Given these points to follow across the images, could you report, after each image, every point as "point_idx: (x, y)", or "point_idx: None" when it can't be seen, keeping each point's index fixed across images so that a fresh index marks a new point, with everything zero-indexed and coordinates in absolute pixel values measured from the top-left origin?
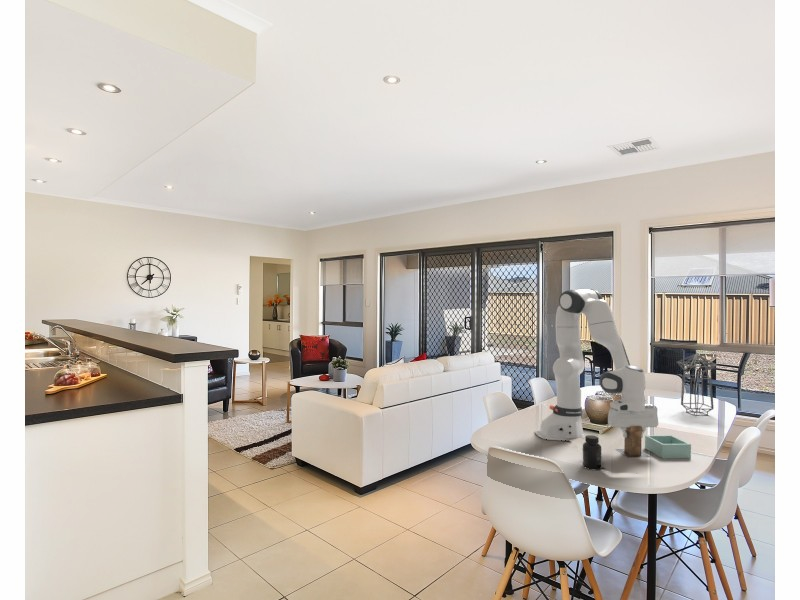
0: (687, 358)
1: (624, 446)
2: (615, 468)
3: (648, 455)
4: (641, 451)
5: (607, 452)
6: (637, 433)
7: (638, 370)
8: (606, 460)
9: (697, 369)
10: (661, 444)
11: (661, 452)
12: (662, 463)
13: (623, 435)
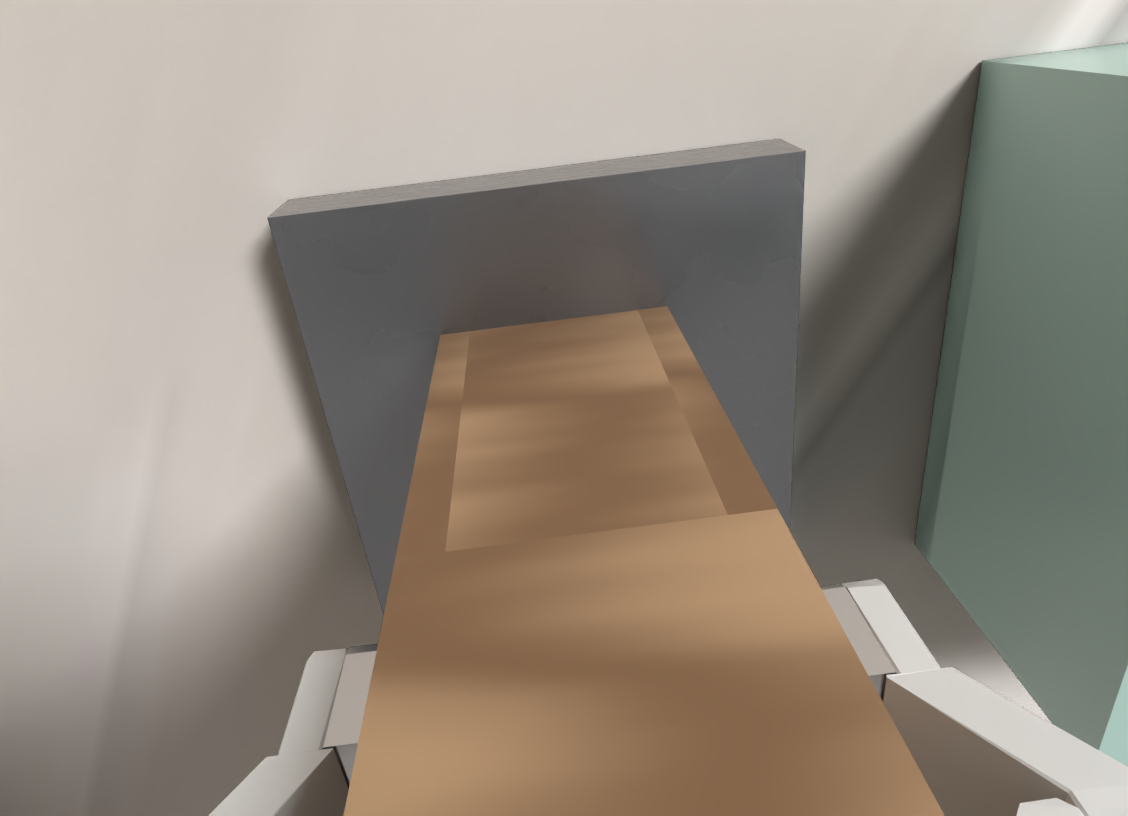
0: None
1: (431, 380)
2: (147, 805)
3: (789, 504)
4: (793, 313)
5: (129, 204)
6: None
7: None
8: (59, 592)
9: None
10: (1091, 739)
11: (992, 615)
12: None
13: (309, 686)
